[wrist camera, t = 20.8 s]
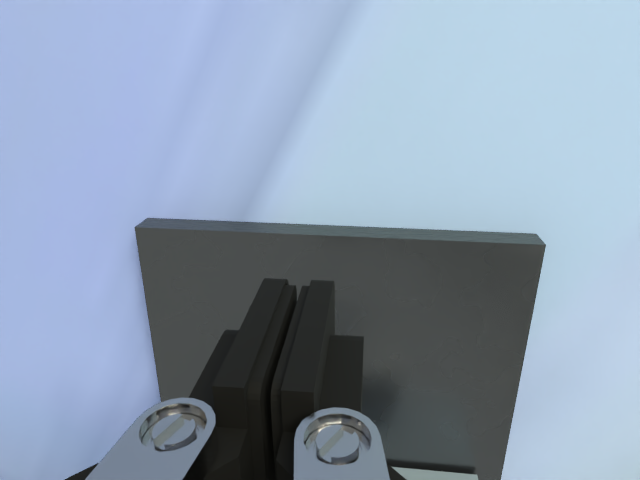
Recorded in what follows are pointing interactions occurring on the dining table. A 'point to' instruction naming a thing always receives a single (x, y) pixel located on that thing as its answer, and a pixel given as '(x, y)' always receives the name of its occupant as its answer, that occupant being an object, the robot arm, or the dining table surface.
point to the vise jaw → (433, 475)
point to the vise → (365, 320)
